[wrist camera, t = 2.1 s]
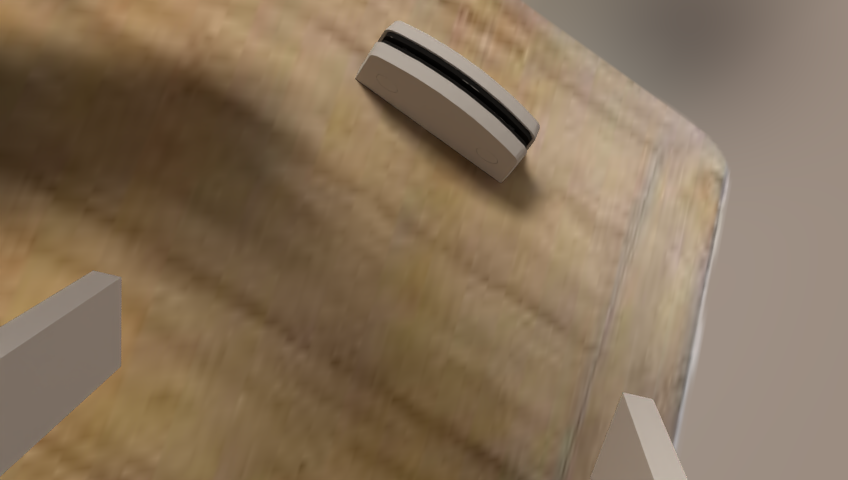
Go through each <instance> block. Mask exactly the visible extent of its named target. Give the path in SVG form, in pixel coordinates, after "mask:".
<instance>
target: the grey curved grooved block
mask: <svg viewBox="0 0 848 480" xmlns="http://www.w3.org/2000/svg"><path fill="white" fill-rule="evenodd" d="M355 79H357V80H358V81H359V82H361V83H362V84H363V85H365V86H366V87H368V88H369V89H370V90H372V91H373V92H375V93H376V94H377V95H379V96H380V97H382V98H383V99H384V100H386V101H387V102H388V103H390V104H391V105H393V106H394V107H395V108H397V109H398V110H400V111H401V112H402V113H404V114H405V115H407V116H408V117H409V118H411V119H412V120H414V121H415V122H416V123H418V124H419V125H420V126H422V127H423V128H425V129H426V130H427V131H429V132H430V133H432V134H433V135H434V136H436V137H437V138H439V139H440V140H441V141H443V142H444V143H446V144H447V145H448V146H450V147H451V148H452V149H454V150H455V151H457V152H458V153H459V154H461V155H462V156H464V157H465V158H466V159H468V160H469V161H471V162H472V163H473V164H475V165H476V166H478V167H479V168H480V169H482V170H483V171H484V172H486V173H487V174H489V175H490V176H491V177H493V178H494V179H496V180H497V181H498V182H500V183H502V182H503V181H504V180H505V179H506V178H507V177H508V176H509V175H510V173H511V172H512V171H513V170H514V169H515V167H516V166H517V165H518V164H519V162H520V161H521V160H522V159H523V157H524V156H525V155H526V153H527V150H528V149H529V147H530V146H531V145H532V143H533V142H534V141H535V139H536V136H537V134H538V131H539V129H540V125H539V123H538V122H537V121H536V119H535V118H534V117H533V116H532V115H531V114H530V113H529V112H528V111H527V110H526V109H525V108H524V107H523V106H522V105H521V104H520V103H519V102H518V101H517V100H516V99H515V98H514V97H513V96H512V95H511V94H510V93H509V92H507V91H506V90H505V89H504V88H503V87H502V86H501V85H499V84H498V83H497V82H496V81H495V80H494V79H492V78H491V77H490V76H489V75H487V74H486V73H485V72H484V71H482V70H481V69H480V68H478V67H477V66H476V65H474V64H473V63H471V62H470V61H469V60H467V59H466V58H464V57H463V56H462V55H460V54H459V53H457V52H456V51H454V50H453V49H451V48H449V47H448V46H446V45H445V44H443V43H441V42H440V41H438V40H436V39H435V38H433V37H431V36H430V35H428V34H426V33H424V32H422V31H420V30H418V29H416V28H414V27H412V26H410V25H408V24H406V23H404V22H402V21H395V22H394V23H393V24H392V25H390V26H389V27H388V28H387V29H386V30H385V31H384V33H383V34H382V36H381V37H380V39H379V40H378V42H376V43H375V44H374V46H373V48H372V49H371V51H370V53H369V54H368V56H367V57H366V59H365V61H364V62H363V64H362V65H361V67H360V69H359V71H358V73H357V76H356V78H355Z"/></svg>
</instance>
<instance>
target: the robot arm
mask: <svg viewBox="0 0 848 480" xmlns="http://www.w3.org/2000/svg"><path fill="white" fill-rule="evenodd" d="M120 367H121V277H119V276H115V275H110V274H106V273H101V272H97V271H92V272H90V273H88V274H87V275H85V276H83V277H82V278H80V279H79V280H77V281H75V282H74V283H72V284H70V285H69V286H67V287H65V288H64V289H62V290H60V291H59V292H57V293H56V294H54V295H52V296H51V297H49V298H47V299H46V300H44V301H42V302H41V303H39V304H37V305H36V306H34V307H33V308H31V309H29V310H28V311H26V312H24V313H23V314H21V315H19V316H18V317H16V318H15V319H13V320H11V321H10V322H8V323H6V324H5V325H3V326H1V327H0V476H1V475H2V474H4V473H5V472H6V471H7V470H8V469H9V468H10V467H11V466H12V465H13V464H14V463H16V462H17V461H18V460H19V459H20V458H21V457H22V456H23V455H24V454H25V453H27V452H28V451H29V450H30V449H31V448H32V447H33V446H34V445H35V444H36V443H37V442H39V441H40V440H41V439H42V438H43V437H44V436H45V435H46V434H47V433H48V432H50V431H51V430H52V429H53V428H54V427H55V426H56V425H57V424H58V423H59V422H60V421H62V420H63V419H64V418H65V417H66V416H67V415H68V414H69V413H70V412H71V411H73V410H74V409H75V408H76V407H77V406H78V405H79V404H80V403H81V402H82V401H84V400H85V399H86V398H87V397H88V396H89V395H90V394H91V393H92V392H93V391H94V390H96V389H97V388H98V387H99V386H100V385H101V384H102V383H103V382H104V381H105V380H107V379H108V378H109V377H110V376H111V375H112V374H113V373H114V372H115V371H116V370H117V369H119V368H120ZM590 477H591V480H688V479H687V477H686V474H685V472H684V470H683V467H682V465H681V463H680V460H679V458H678V456H677V454H676V451H675V449H674V447H673V444H672V442H671V440H670V437H669V435H668V433H667V430H666V428H665V426H664V423H663V421H662V419H661V417H660V414H659V412H658V410H657V407H656V405H655V403H654V400H653V399H650V398H646V397H642V396H637V395H633V394H629V393H624V392H623V393H622V395H621V398H620V401H619V403H618V406H617V408H616V411H615V414H614V416H613V419H612V422H611V424H610V427H609V429H608V432H607V435H606V437H605V440H604V442H603V445H602V448H601V450H600V453H599V456H598V458H597V461H596V463H595V466H594V469H593V471H592V474H591V476H590Z"/></svg>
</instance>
